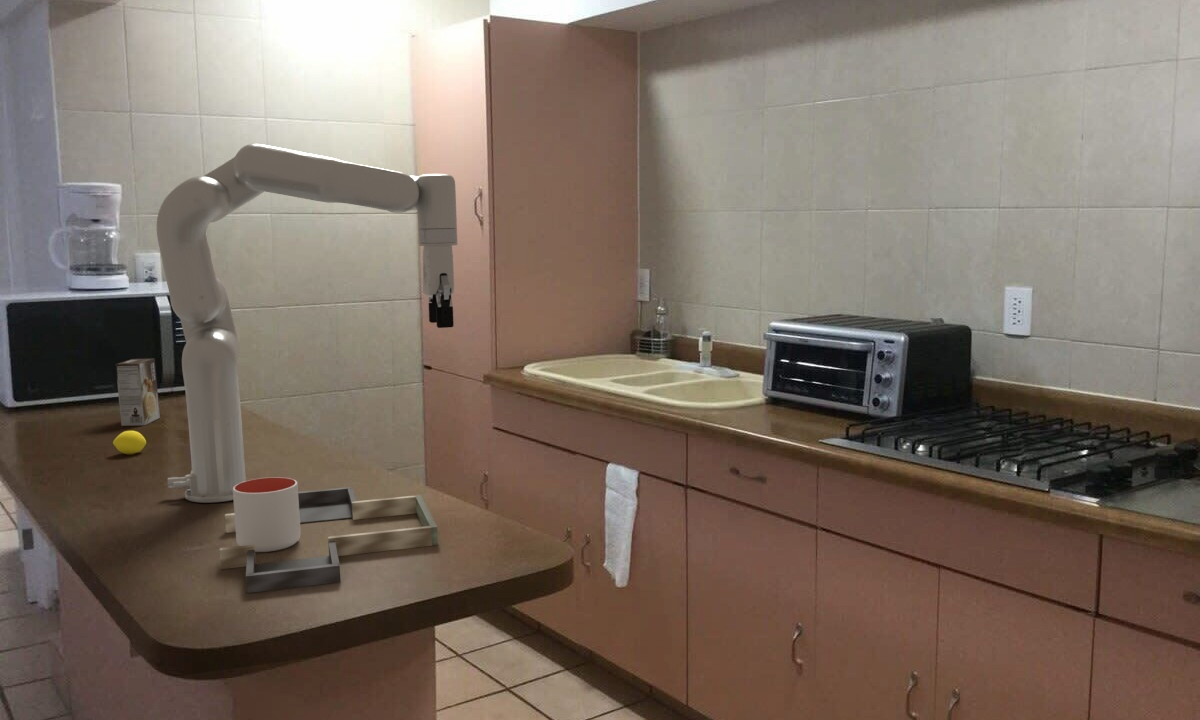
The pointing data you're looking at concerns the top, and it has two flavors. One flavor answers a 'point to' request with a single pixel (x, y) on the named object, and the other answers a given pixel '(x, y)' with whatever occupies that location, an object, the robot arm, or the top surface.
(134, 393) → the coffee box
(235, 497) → the cup
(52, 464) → the top surface
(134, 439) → the lemon
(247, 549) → the box
